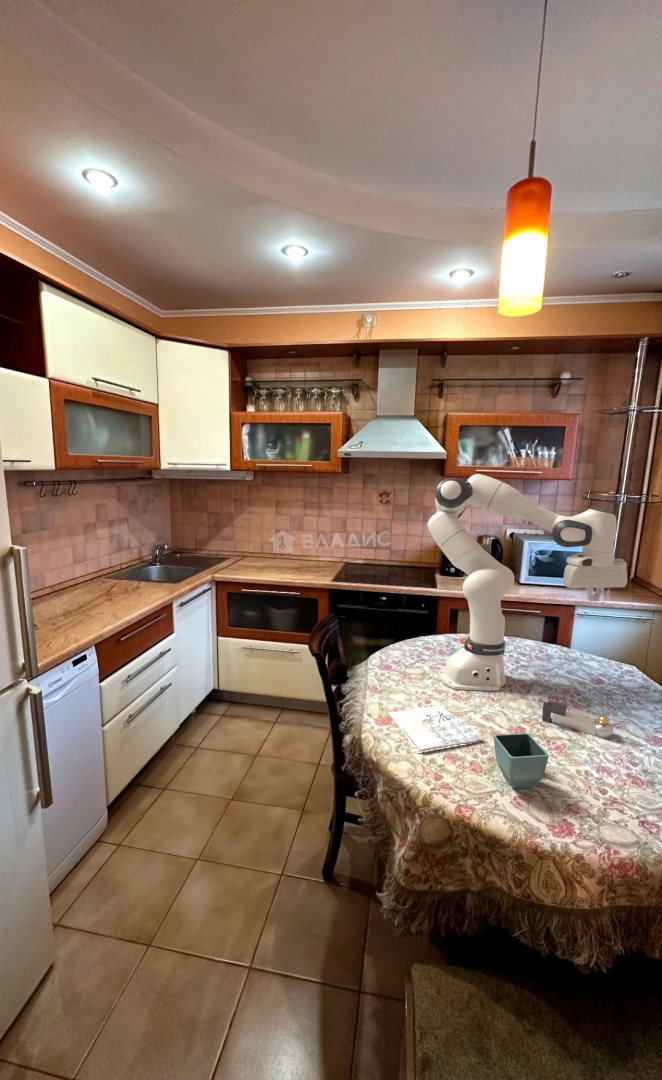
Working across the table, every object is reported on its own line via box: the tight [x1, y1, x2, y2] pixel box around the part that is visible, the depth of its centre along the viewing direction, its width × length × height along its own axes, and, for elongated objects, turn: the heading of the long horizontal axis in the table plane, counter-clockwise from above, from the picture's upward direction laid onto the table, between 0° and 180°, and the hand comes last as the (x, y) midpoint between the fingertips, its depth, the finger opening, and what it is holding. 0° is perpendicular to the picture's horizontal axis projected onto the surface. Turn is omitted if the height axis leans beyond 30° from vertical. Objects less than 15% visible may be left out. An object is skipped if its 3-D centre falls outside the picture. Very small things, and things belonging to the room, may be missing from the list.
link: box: [551, 711, 614, 740], centre depth 118 cm, size 14×4×3 cm, turn 54°
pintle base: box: [541, 700, 610, 726], centre depth 120 cm, size 18×19×6 cm
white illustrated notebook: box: [387, 704, 484, 751], centre depth 121 cm, size 19×20×2 cm
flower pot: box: [493, 732, 550, 789], centre depth 99 cm, size 9×9×9 cm
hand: (593, 600), depth 143 cm, fingers closed
